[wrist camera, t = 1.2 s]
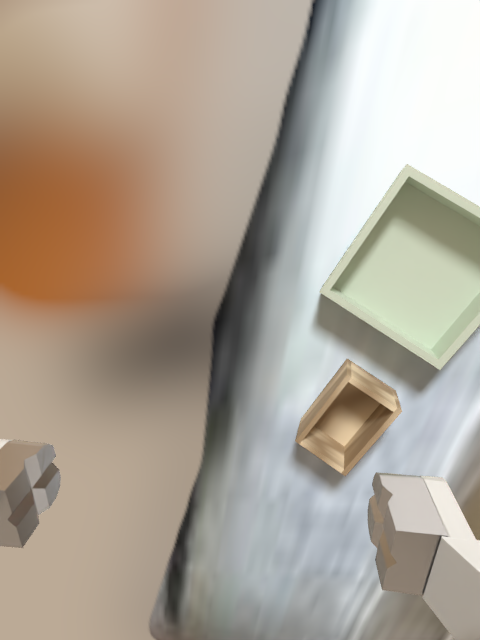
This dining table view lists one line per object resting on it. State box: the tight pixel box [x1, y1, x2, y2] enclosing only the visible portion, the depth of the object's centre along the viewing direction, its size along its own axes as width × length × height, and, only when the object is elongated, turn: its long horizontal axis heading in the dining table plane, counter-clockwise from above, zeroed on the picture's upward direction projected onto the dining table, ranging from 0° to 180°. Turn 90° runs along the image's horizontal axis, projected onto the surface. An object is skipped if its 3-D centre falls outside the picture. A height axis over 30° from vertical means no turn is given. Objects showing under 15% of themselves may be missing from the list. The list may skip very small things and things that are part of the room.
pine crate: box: [295, 359, 402, 476], centre depth 40 cm, size 6×9×5 cm, turn 148°
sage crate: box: [320, 164, 480, 370], centre depth 35 cm, size 13×13×4 cm
